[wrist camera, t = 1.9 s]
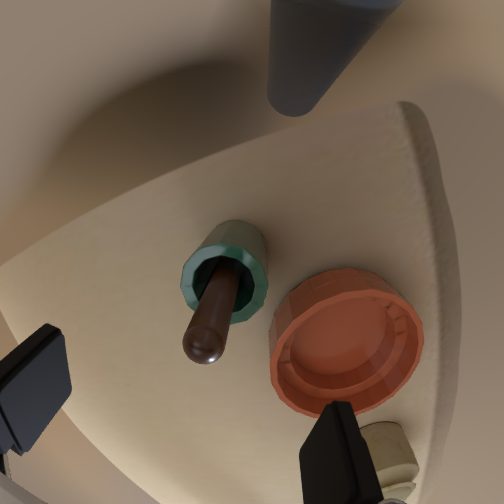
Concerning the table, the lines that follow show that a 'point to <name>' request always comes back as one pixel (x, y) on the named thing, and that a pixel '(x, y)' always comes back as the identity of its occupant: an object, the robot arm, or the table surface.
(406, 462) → the sugar bowl
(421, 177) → the table surface
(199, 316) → the stirring stick
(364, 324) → the mixing bowl
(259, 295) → the stick holder
